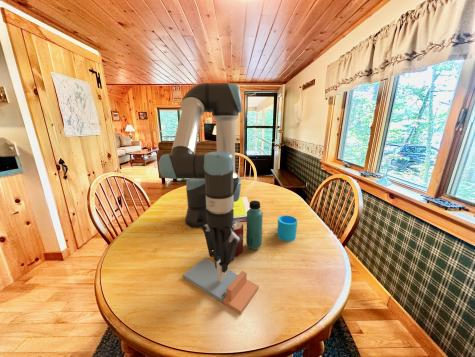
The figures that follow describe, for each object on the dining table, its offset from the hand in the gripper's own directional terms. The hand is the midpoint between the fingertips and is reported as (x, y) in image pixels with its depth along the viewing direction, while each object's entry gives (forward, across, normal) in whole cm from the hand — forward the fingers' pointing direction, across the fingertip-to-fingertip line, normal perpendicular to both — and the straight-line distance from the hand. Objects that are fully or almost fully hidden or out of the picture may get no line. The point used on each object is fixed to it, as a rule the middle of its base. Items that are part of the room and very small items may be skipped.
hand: (221, 278), depth 60 cm
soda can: (+3, -6, +15) cm, 17 cm away
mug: (+3, +6, +39) cm, 40 cm away
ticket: (+3, -4, 0) cm, 5 cm away
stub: (+3, +7, 0) cm, 8 cm away
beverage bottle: (+3, -1, +22) cm, 22 cm away
